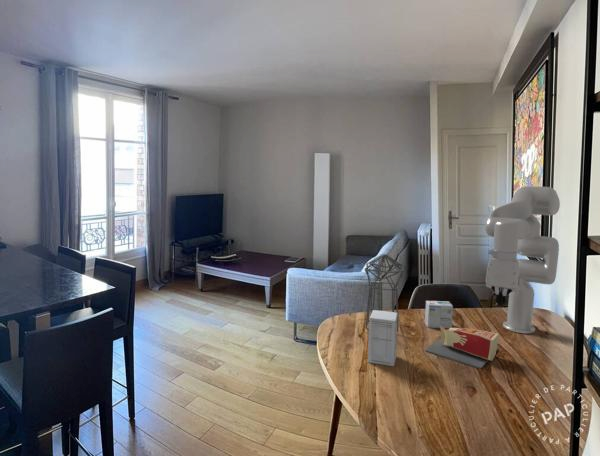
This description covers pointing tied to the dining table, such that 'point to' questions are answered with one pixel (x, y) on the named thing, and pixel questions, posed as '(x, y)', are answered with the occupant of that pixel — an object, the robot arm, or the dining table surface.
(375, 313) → the supplement box
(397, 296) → the geometric lantern
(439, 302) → the light bulb box
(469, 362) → the mat
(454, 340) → the milk carton
